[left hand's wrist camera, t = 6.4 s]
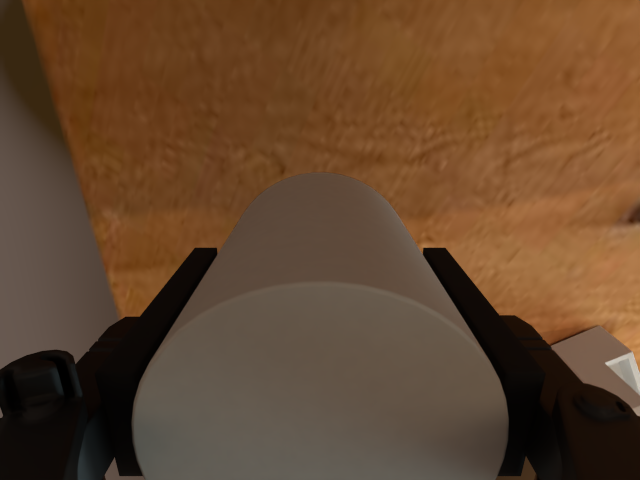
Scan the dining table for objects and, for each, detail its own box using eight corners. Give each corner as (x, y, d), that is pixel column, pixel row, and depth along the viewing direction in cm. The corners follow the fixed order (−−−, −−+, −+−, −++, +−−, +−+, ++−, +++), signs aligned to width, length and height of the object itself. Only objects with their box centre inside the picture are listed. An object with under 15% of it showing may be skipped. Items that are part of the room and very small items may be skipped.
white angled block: (609, 465, 30) (686, 535, 21) (539, 341, 32) (583, 359, 23) (658, 447, 29) (757, 512, 21) (583, 322, 31) (645, 333, 23)
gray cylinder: (285, 356, 18) (252, 605, 9) (198, 222, 16) (47, 383, 7) (433, 293, 17) (555, 509, 8) (363, 138, 14) (427, 207, 6)
